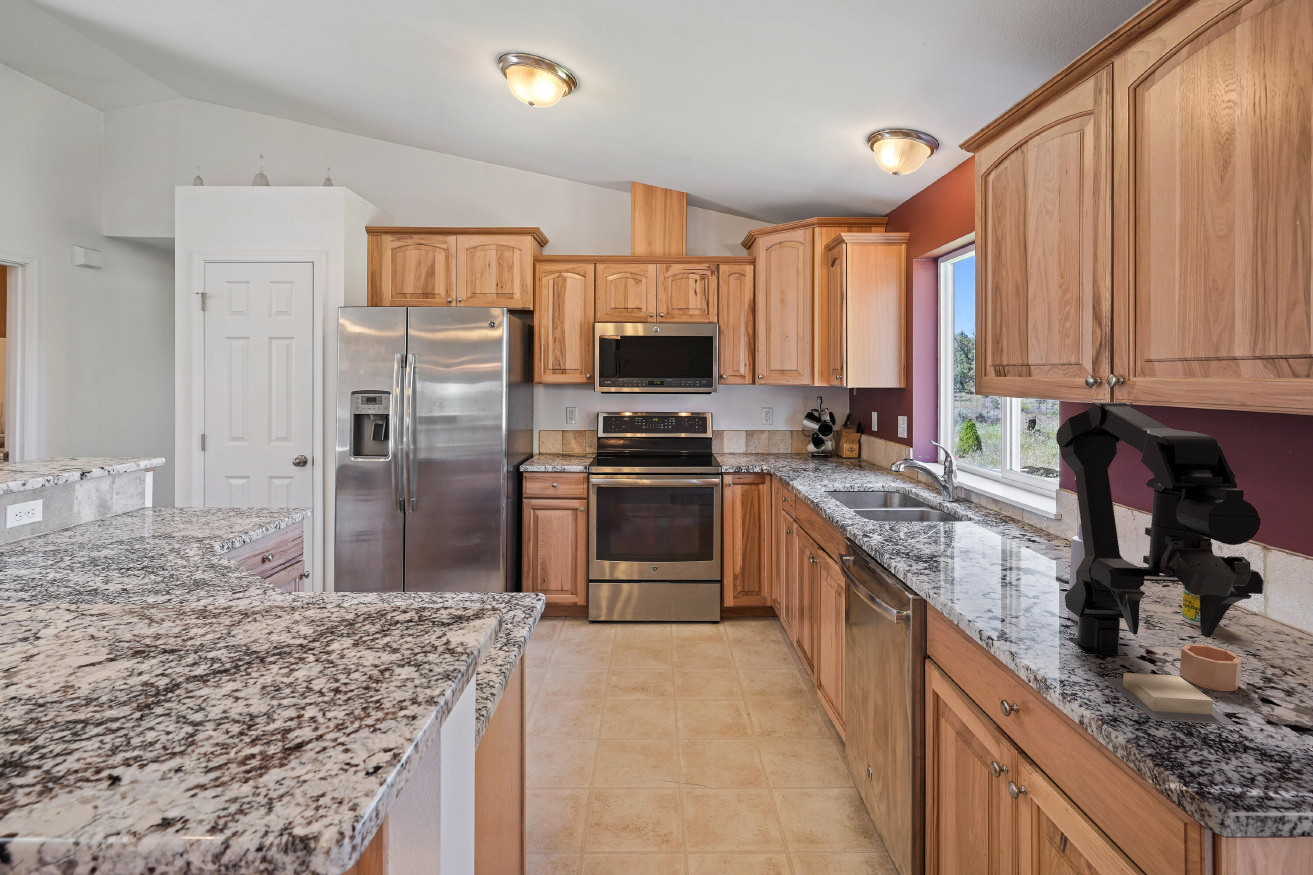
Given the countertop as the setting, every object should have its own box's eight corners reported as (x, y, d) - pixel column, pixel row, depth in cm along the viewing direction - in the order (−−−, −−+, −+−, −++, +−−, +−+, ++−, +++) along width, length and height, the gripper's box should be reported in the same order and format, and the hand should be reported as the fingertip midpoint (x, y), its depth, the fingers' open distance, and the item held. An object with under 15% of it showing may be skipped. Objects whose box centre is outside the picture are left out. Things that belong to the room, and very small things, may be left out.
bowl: (1171, 673, 100) (1173, 643, 99) (1217, 675, 99) (1219, 645, 98) (1199, 693, 94) (1202, 661, 93) (1249, 695, 93) (1251, 664, 92)
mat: (1103, 680, 97) (1103, 677, 97) (1176, 684, 96) (1176, 681, 96) (1152, 723, 86) (1152, 719, 86) (1236, 728, 84) (1236, 724, 84)
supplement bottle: (1227, 627, 117) (1231, 575, 116) (1200, 628, 117) (1204, 577, 116) (1198, 616, 123) (1202, 567, 122) (1173, 617, 122) (1177, 568, 121)
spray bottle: (1062, 619, 122) (1068, 504, 120) (1073, 611, 126) (1079, 500, 124) (1100, 628, 117) (1107, 509, 115) (1109, 619, 121) (1116, 505, 119)
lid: (1122, 685, 95) (1123, 672, 95) (1176, 688, 94) (1177, 675, 94) (1153, 710, 88) (1154, 696, 87) (1211, 714, 87) (1213, 700, 86)
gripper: (1138, 538, 82) (1130, 656, 83) (1304, 542, 79) (1292, 664, 81) (1092, 519, 93) (1085, 623, 94) (1236, 522, 90) (1227, 629, 92)
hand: (1169, 634), depth 90 cm, fingers open, 9 cm apart
